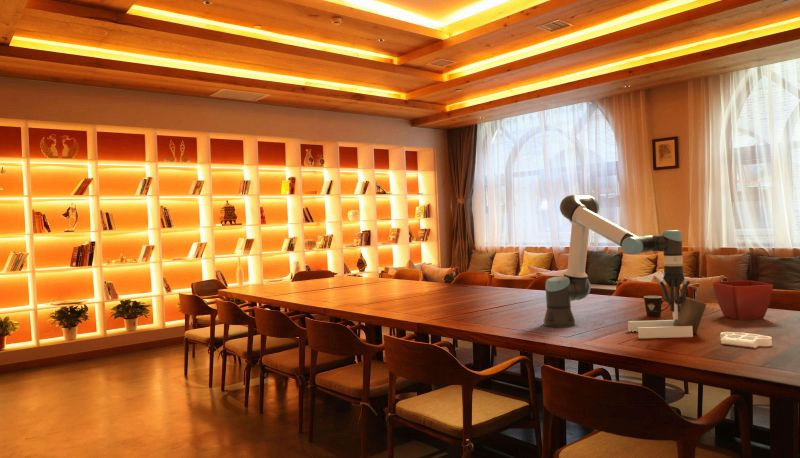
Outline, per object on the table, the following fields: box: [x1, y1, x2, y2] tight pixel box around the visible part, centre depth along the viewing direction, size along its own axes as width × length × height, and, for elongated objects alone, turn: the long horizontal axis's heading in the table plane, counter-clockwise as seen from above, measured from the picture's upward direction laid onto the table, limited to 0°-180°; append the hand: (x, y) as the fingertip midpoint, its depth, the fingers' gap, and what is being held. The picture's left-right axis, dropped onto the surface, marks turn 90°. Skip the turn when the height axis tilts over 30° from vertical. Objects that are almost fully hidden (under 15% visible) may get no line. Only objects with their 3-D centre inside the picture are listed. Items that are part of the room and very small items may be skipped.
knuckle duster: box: [719, 331, 773, 349], centre depth 220 cm, size 3×18×15 cm
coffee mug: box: [643, 295, 670, 318], centre depth 283 cm, size 12×9×10 cm
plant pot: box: [712, 280, 774, 321], centre depth 270 cm, size 19×19×17 cm
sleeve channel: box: [627, 319, 694, 339], centre depth 244 cm, size 22×15×4 cm
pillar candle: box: [673, 296, 707, 334], centre depth 242 cm, size 10×10×15 cm
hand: (675, 318), depth 242 cm, fingers closed
